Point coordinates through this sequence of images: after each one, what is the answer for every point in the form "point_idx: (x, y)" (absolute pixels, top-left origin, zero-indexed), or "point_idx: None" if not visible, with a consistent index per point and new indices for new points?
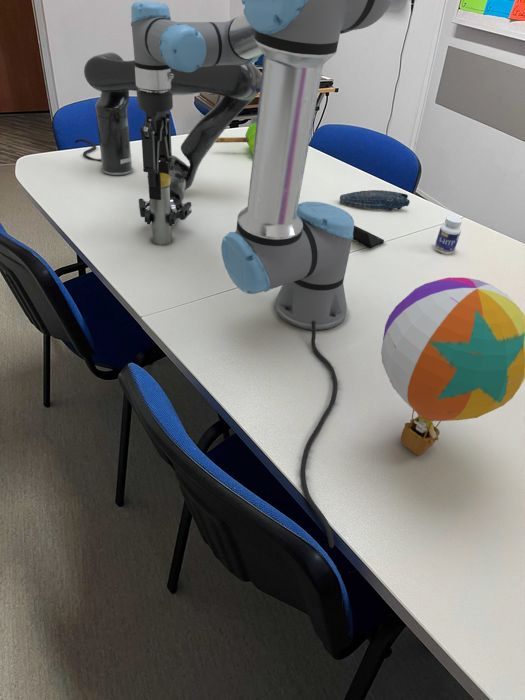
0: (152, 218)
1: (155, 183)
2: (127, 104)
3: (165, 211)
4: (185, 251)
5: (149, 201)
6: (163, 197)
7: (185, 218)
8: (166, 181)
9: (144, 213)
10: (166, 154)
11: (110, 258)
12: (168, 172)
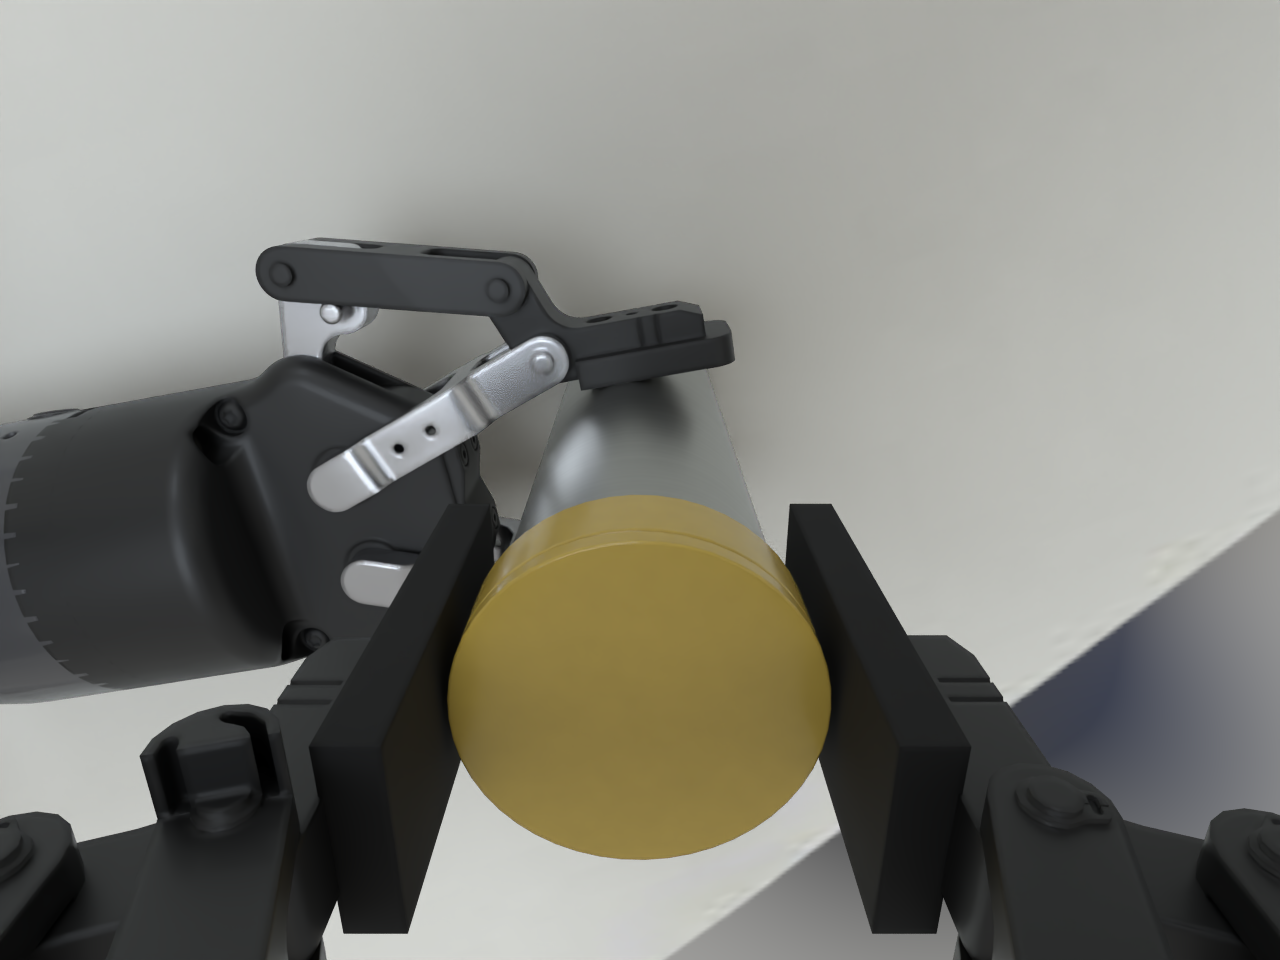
0: None
1: (975, 672)
2: None
3: (709, 423)
4: (760, 161)
5: None
6: (738, 495)
7: (490, 250)
8: (739, 553)
9: None
10: (268, 952)
11: (974, 619)
12: (401, 635)
